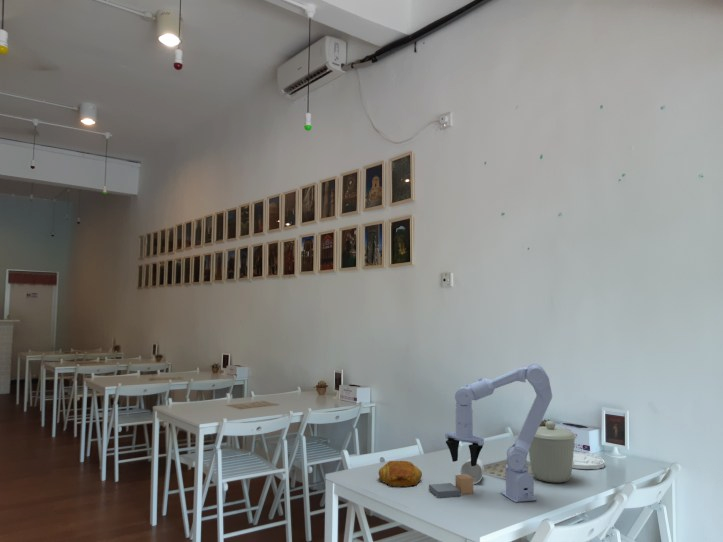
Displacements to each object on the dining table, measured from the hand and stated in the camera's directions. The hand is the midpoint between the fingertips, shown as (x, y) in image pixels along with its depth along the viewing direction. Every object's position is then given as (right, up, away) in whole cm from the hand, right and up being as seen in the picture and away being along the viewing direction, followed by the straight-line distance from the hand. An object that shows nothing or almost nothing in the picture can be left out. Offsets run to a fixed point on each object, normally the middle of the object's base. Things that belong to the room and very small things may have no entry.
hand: (464, 463), depth 185 cm
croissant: (-21, -10, +10) cm, 26 cm away
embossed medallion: (+54, -14, +37) cm, 67 cm away
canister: (+35, -11, +15) cm, 40 cm away
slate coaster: (-7, -9, -3) cm, 12 cm away
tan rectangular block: (0, -9, -1) cm, 9 cm away
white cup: (+7, -8, +18) cm, 21 cm away
